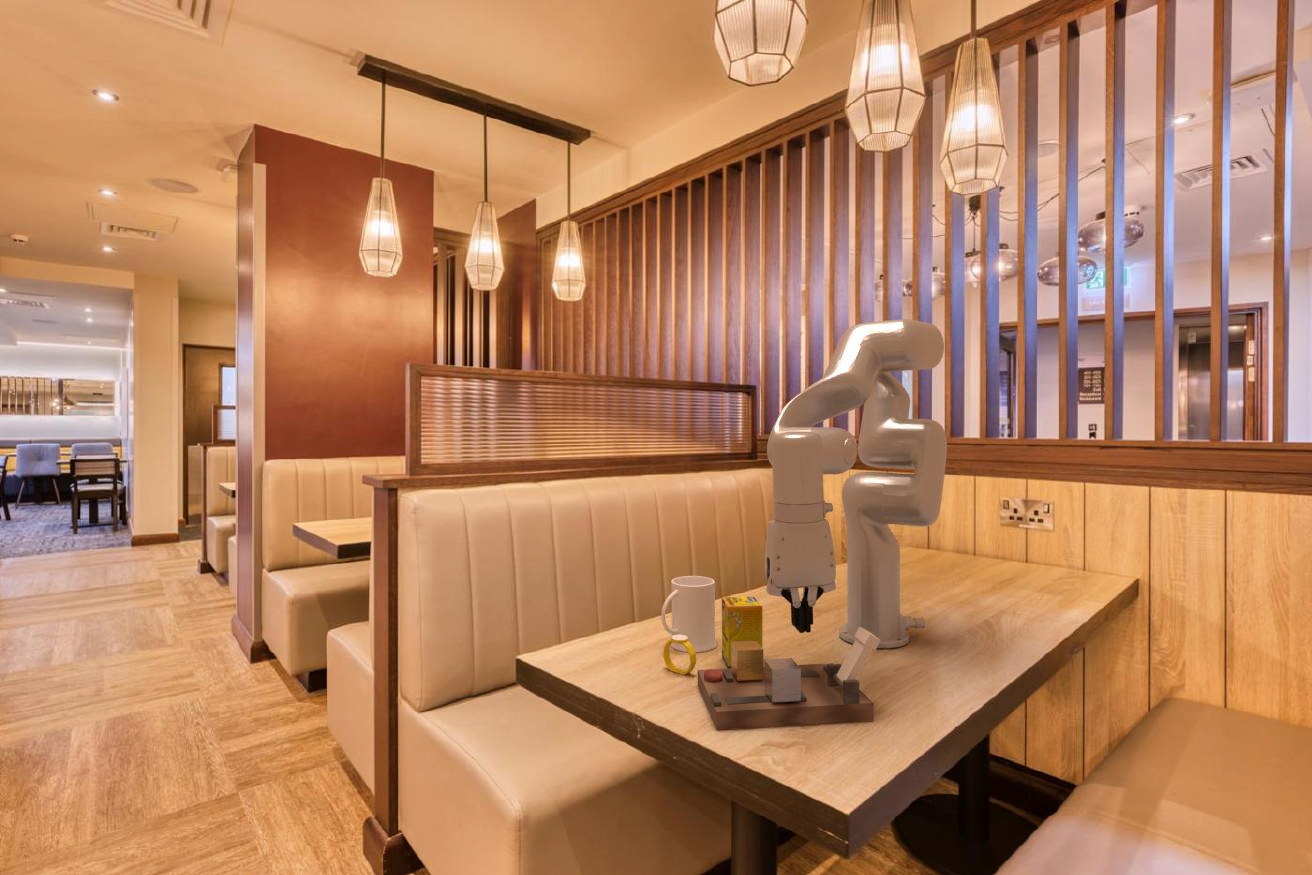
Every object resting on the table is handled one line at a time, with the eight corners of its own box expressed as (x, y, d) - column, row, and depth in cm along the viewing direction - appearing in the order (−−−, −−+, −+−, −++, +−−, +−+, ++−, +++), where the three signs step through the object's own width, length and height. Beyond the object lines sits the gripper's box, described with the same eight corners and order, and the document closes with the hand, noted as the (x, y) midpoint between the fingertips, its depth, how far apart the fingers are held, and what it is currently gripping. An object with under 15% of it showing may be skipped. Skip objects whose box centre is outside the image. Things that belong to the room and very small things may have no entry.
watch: (698, 675, 108) (700, 640, 107) (688, 680, 106) (690, 644, 105) (669, 664, 111) (671, 630, 111) (659, 669, 109) (661, 634, 109)
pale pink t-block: (839, 683, 95) (868, 631, 96) (852, 696, 91) (882, 641, 91) (829, 677, 95) (858, 625, 95) (841, 690, 91) (871, 635, 91)
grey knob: (791, 689, 94) (791, 657, 94) (800, 700, 90) (800, 668, 90) (764, 690, 93) (764, 659, 93) (772, 702, 89) (772, 669, 89)
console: (832, 678, 105) (832, 644, 105) (873, 720, 90) (873, 681, 90) (697, 685, 103) (697, 650, 102) (716, 730, 88) (716, 689, 88)
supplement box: (721, 658, 114) (720, 596, 114) (754, 657, 115) (754, 595, 114) (727, 671, 108) (727, 606, 108) (763, 670, 109) (763, 604, 109)
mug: (674, 660, 114) (673, 591, 113) (647, 646, 121) (646, 581, 121) (725, 646, 120) (725, 581, 120) (697, 634, 127) (696, 573, 127)
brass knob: (756, 669, 101) (756, 640, 101) (763, 679, 98) (763, 649, 97) (731, 670, 101) (731, 641, 101) (737, 680, 97) (737, 650, 97)
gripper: (836, 505, 104) (839, 617, 106) (745, 511, 103) (749, 625, 104) (855, 513, 97) (858, 634, 98) (757, 520, 95) (761, 642, 97)
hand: (802, 629), depth 101 cm, fingers closed
